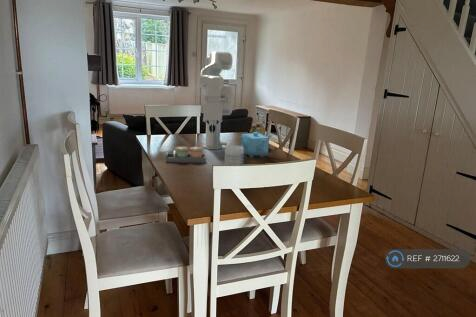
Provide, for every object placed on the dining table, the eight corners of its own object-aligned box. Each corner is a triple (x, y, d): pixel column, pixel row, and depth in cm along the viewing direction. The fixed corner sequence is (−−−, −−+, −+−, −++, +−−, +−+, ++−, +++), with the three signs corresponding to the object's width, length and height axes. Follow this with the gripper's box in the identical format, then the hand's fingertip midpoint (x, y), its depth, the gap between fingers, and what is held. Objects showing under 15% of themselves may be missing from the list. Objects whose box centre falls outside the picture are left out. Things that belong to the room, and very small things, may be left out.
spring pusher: (175, 157, 205) (175, 150, 204) (174, 161, 199) (175, 153, 198) (173, 157, 205) (173, 150, 204) (173, 161, 199) (173, 153, 197)
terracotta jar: (201, 158, 208) (201, 146, 206) (202, 161, 201) (202, 149, 199) (189, 158, 207) (189, 146, 205) (189, 161, 200) (189, 149, 198)
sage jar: (187, 158, 207) (188, 146, 205) (188, 161, 200) (188, 149, 198) (175, 158, 205) (175, 146, 204) (175, 161, 199) (175, 149, 197)
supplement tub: (244, 177, 180) (246, 149, 176) (226, 177, 178) (227, 149, 174) (240, 171, 189) (241, 144, 185) (222, 172, 187) (223, 144, 183)
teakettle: (245, 150, 235) (246, 128, 231) (272, 154, 228) (274, 131, 224) (235, 156, 218) (236, 133, 214) (264, 161, 211) (265, 137, 207)
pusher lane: (204, 158, 209) (204, 151, 208) (205, 163, 200) (205, 155, 199) (166, 158, 206) (166, 150, 205) (166, 162, 197) (165, 155, 196)
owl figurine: (243, 143, 254) (244, 120, 249) (257, 143, 258) (259, 119, 254) (254, 149, 238) (255, 124, 233) (269, 148, 243) (271, 124, 238)
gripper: (199, 99, 191) (198, 133, 196) (227, 100, 194) (226, 133, 199) (199, 98, 198) (198, 130, 203) (226, 99, 201) (224, 131, 206)
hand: (212, 132), depth 201 cm, fingers closed
